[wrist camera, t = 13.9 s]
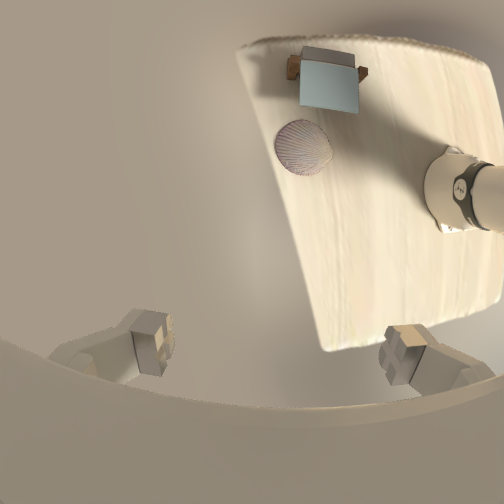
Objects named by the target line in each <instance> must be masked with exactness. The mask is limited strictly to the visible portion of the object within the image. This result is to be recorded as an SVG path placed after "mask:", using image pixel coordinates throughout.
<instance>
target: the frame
mask: <svg viewBox="0 0 504 504" xmlns="http://www.w3.org/2000/svg"><path fill="white" fill-rule="evenodd" d="M297 73H300V56H295V55H291V57H290V58H288V64H287V79H288V80H295V77H296V74H297ZM358 76H359V83H360V82H361V81H362V80H363V79H364V78H365V77H366V76H368V68H366V67H362V66H359V67H358Z"/></svg>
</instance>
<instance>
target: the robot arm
mask: <svg viewBox="0 0 504 504" xmlns="http://www.w3.org/2000/svg"><path fill="white" fill-rule="evenodd" d="M455 153H456V154H455ZM424 194H425V200H426V203H427V206H428V208H429V210H430V212H431V213H432V215H433V216H434V217H435V218H436V220H437V222H438V226H439V229H440V231H441V232H442V233H452V232H460V231H467V230H475V229H480V230H486V231H489V230H492V231H495V232H498V233H500V234H503V235H504V166H495V165H493V164H490V163H486V162H484V161H480V162H479V158H477V157H473V155H468V154H464V153H462V152H461V151H459V150H458V149H456V148H454V147H448V148H447V149H446V151H445V153H444V154H443V155H442V156H441V157H439V158H437V159H436V160H434V161H433V163H432V164H431V165H430V167H429V168H428V171H427V173H426V176H425V182H424ZM448 226H449V228H448ZM172 326H173V320H172V316H171V314H167V313H161V312H154V311H148V310H143V309H132V310H131V311H130V312H129V313H128V314H127V315H126V316H125V317H124V319H123V320H122V321H121V322H120V323H119V324H118V325H117V327H115V328H108V329H105V330H103V331H100V332H97V333H94V334H91V335H88V336H85V337H82V338H79V339H76V340H73V341H70V342H67V343H63V344H61V345H59V346H58V347H57V348H56V349H55V350H54V351H53V352H52V353H51V354H50V355H49V356H48V357H47V358H43V357H41V356H39V355H36V354H34V353H32V352H30V351H28V350H25V349H23V348H21V347H19V346H17V345H15V344H13V343H11V342H9V341H7V340H5V339H3V338H1V337H0V504H504V374H501V375H498V376H496V375H495V374H494V373H493V372H492V371H491V369H490V368H489V367H488V366H487V365H486V364H485V363H483V362H481V361H479V360H477V359H475V358H473V357H471V356H468V355H466V354H464V353H462V352H460V351H457V350H455V349H453V348H451V347H449V346H446V345H444V344H439V343H438V342H437V340H436V339H435V338H434V337H433V336H432V335H431V334H430V332H429V331H428V330H427V329H426V328H425V327H424V326H423V325H422V324H412V325H397V326H388V328H387V329H386V332H385V335H384V336H385V339H386V341H385V342H384V343H383V344H382V345H381V347H380V351H379V362H380V365H381V367H382V368H383V369H385V370H386V371H387V372H386V374H385V375H386V377H387V379H388V381H389V383H390V385H391V386H394V385H403V384H409V385H410V386H411V387H413V388H414V389H415V390H417V391H418V392H419V393H420V394H421V395H423V396H422V397H416V398H411V399H405V400H400V401H392V402H385V403H377V404H368V405H358V406H345V407H328V408H272V407H254V406H239V405H230V404H221V403H212V402H205V401H198V400H192V399H185V398H180V397H174V396H169V395H164V394H159V393H154V392H150V391H145V390H141V389H137V388H133V387H129V386H125V385H124V384H125V383H127V382H128V381H130V380H131V379H133V378H135V377H136V376H137V375H139V374H140V373H143V374H148V375H154V376H159V377H161V376H162V375H163V373H164V371H165V369H166V367H167V361H166V360H168V359H170V358H171V356H172V354H173V351H174V344H175V339H174V334H173V333H172V331H171V330H170V329H171V327H172Z"/></svg>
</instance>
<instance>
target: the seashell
mask: <svg viewBox="0 0 504 504" xmlns="http://www.w3.org/2000/svg"><path fill="white" fill-rule="evenodd" d="M326 136H327V135H326V134H325V133H324V131H323V129H320V128H319V127H318V126H317V125H316V124H314V123H311V122H310V121H309V122H308V121H305V120H299V121H295V122H293V123H292V122H291V123H290V124H289V125H287V126H286V127H284V129H283V130H281V133H279V136H278V135H277V138H278V139H277V140H276V149H277V150H276V152H277V155H278V157H279V159H280V161H281V163H282V164H283V165H284V166H285V167H286V168H287V169H288V170H289V171H291V172H293V173H295V174H297V175H300V176H301V175H302V176H311V175H313V174H316V173H318V172H320V170H321V169H322V168H323V166H324V165H325V164H326V163H328V162H329V161H330V160H331V159H332V157H333V152H332V149H331V147H330V145H329V140H328V139H327V138H328V137H326Z"/></svg>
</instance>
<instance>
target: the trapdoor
mask: <svg viewBox="0 0 504 504" xmlns="http://www.w3.org/2000/svg"><path fill="white" fill-rule="evenodd" d="M299 106H307V107H315V108H323V109H330V110H336V111H342V112H348V113H354V114H359V76H358V69H357V68H355V55H354V54H350V53H345V52H340V51H334V50H329V49H322V48H316V47H308V46H303V48H302V52H301V55H300V96H299Z"/></svg>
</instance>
